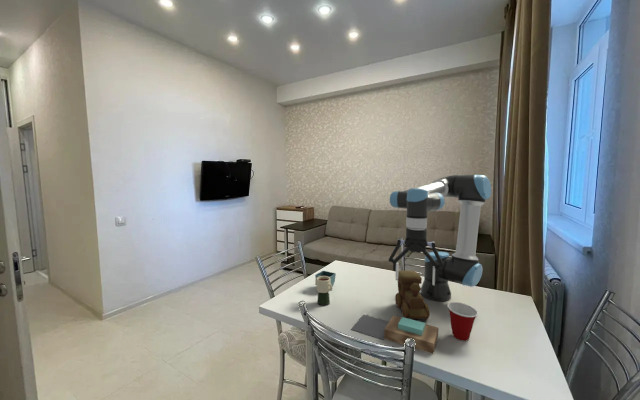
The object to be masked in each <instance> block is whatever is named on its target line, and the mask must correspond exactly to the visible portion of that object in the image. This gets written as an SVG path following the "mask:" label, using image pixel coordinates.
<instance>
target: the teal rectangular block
mask: <svg viewBox="0 0 640 400" xmlns="http://www.w3.org/2000/svg"><path fill="white" fill-rule="evenodd" d="M400 318H401V320H400V322H399V323H398V329H401V330H404V331H408V332H411V333H415V334H418V335H423V332H424V330H425V324H426V322H423V321H420V320H416V319H410V318H404V317H403V316H402V317H400Z"/></svg>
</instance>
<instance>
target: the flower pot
mask: <svg viewBox="0 0 640 400" xmlns="http://www.w3.org/2000/svg"><path fill="white" fill-rule="evenodd" d="M336 275H337V274H336V272H331V271H327V270H321V271H320V272H318V273H316V274H315V280H316V279H317V277H319V276H328V277H330V279H331V284H332V288H333V287H334V285H335V281H336Z"/></svg>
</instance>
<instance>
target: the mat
mask: <svg viewBox="0 0 640 400" xmlns="http://www.w3.org/2000/svg"><path fill="white" fill-rule="evenodd" d="M389 321H390V320H385V319H381V318H378V317H375V316H370V315H367V314H363V315H361V317H360V318H359V319H358V320H357V322H355V323H354V325H353V326H352V327H351V328H350V331H354V332H357V333H360V334H363V335H366V336H369V337H373V338H376V339H379V340H382V341H384V340H385V339H384V329H385V328H386V326H387V324H388V323H389Z"/></svg>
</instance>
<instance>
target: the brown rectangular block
mask: <svg viewBox="0 0 640 400" xmlns="http://www.w3.org/2000/svg"><path fill="white" fill-rule="evenodd" d="M401 318H402V317H401V316H400V317H399V316H398V315H397V316H396V315H392V317H391V318H390V320H388V321H389V323H388V324H387V326H386V328H385V329H384V340H387V341H389V342H394V343H396V342H397V344H399V345H403V346H405V345H404V343H405V340H406V339H407V338H412V339H414V340H415V343H416V345H415V348H414V349H416V350H419V351H422V352H426V353H428V354H432V355H434V354H435V349H436V347H437V343H438V339H439V326H434V325H431V324H428V323H425V330H424V332H423V335H418V334H415V333H411V332H408V331H404V330H401V329H398V323H399V322H400V320H401Z"/></svg>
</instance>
